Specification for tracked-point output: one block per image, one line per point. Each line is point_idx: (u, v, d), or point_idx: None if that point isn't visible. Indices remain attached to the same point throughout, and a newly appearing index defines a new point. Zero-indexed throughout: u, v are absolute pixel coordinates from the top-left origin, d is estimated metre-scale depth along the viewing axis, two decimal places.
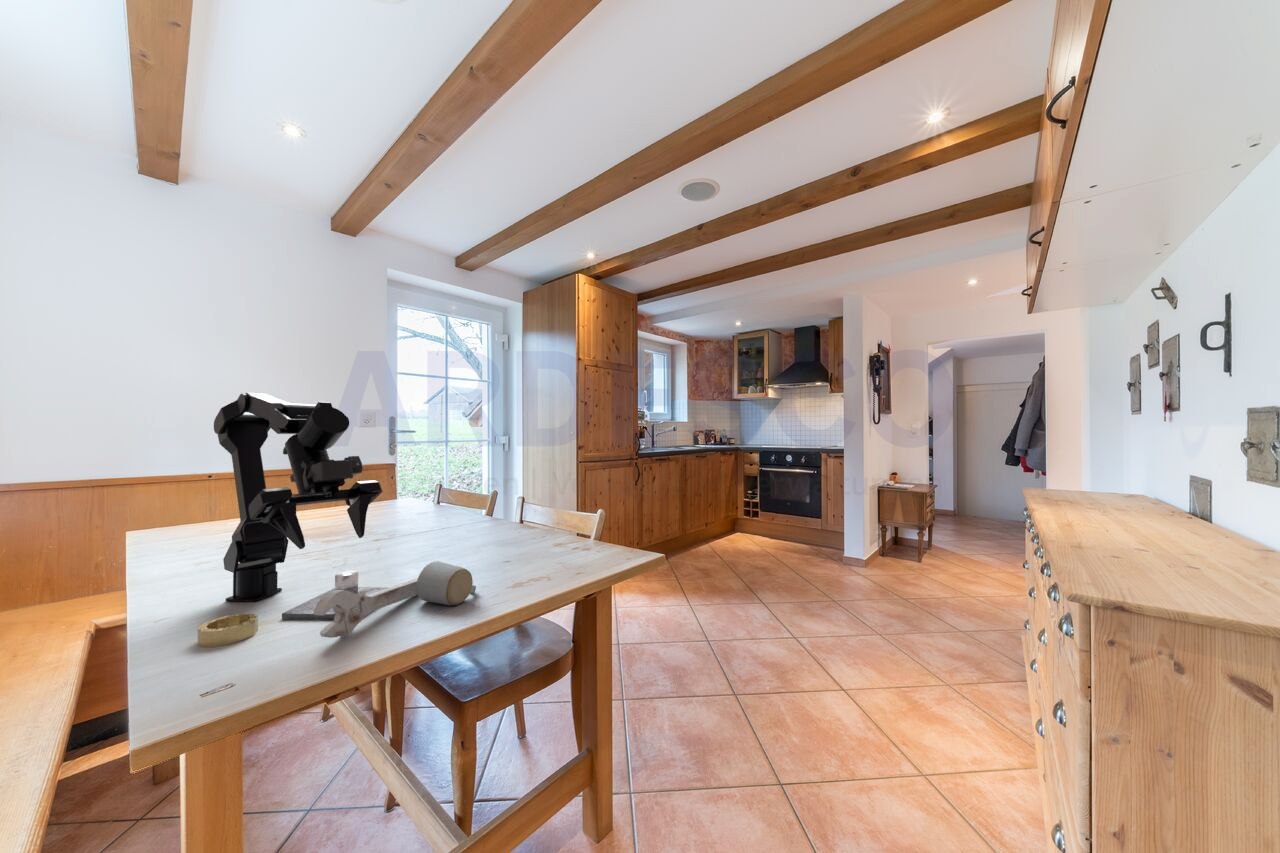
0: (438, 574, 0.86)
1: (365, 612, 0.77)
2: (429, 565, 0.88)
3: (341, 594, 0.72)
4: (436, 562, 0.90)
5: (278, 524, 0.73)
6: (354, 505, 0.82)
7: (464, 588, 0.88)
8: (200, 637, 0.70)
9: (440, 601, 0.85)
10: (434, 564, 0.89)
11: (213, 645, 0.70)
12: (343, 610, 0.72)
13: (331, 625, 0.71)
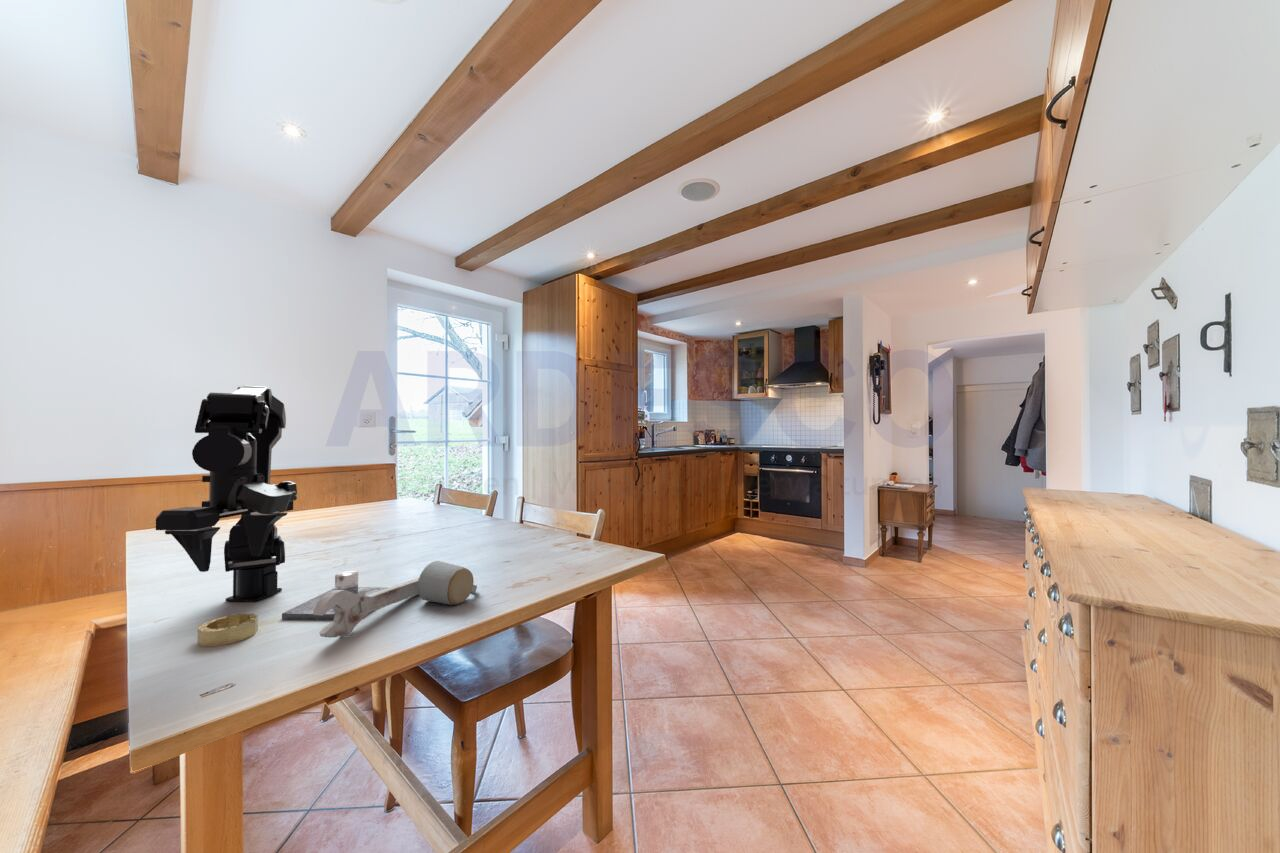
0: (439, 573, 0.86)
1: (365, 612, 0.77)
2: (430, 565, 0.88)
3: (341, 595, 0.72)
4: (437, 562, 0.90)
5: (183, 539, 0.67)
6: (259, 519, 0.79)
7: (466, 588, 0.88)
8: (200, 637, 0.70)
9: (441, 600, 0.85)
10: (435, 564, 0.89)
11: (213, 645, 0.70)
12: (343, 610, 0.72)
13: (331, 625, 0.71)
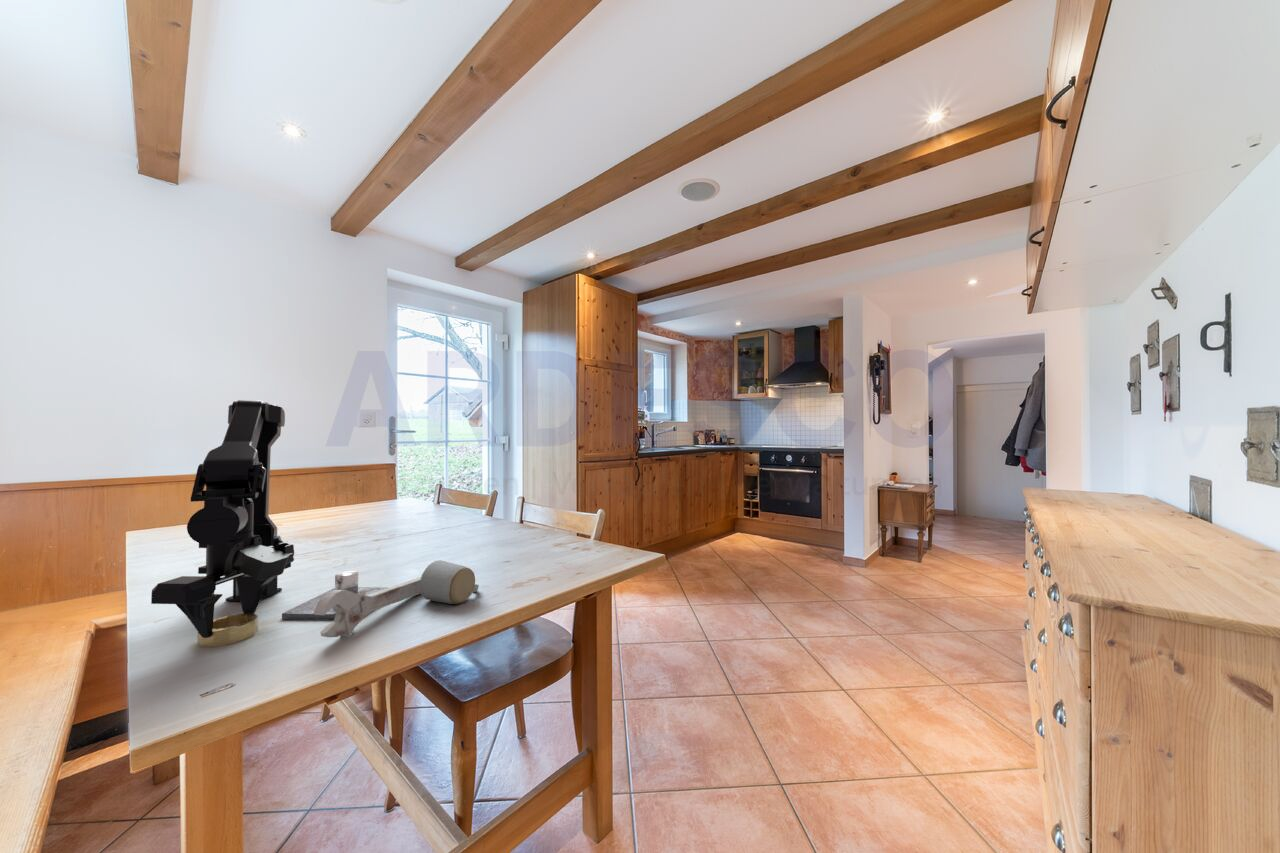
0: (441, 573, 0.87)
1: (365, 612, 0.77)
2: (432, 564, 0.89)
3: (342, 594, 0.72)
4: (439, 561, 0.90)
5: (186, 607, 0.68)
6: (251, 580, 0.78)
7: (467, 587, 0.89)
8: (200, 637, 0.70)
9: (443, 600, 0.86)
10: (437, 563, 0.89)
11: (213, 645, 0.70)
12: (343, 610, 0.72)
13: (331, 625, 0.71)
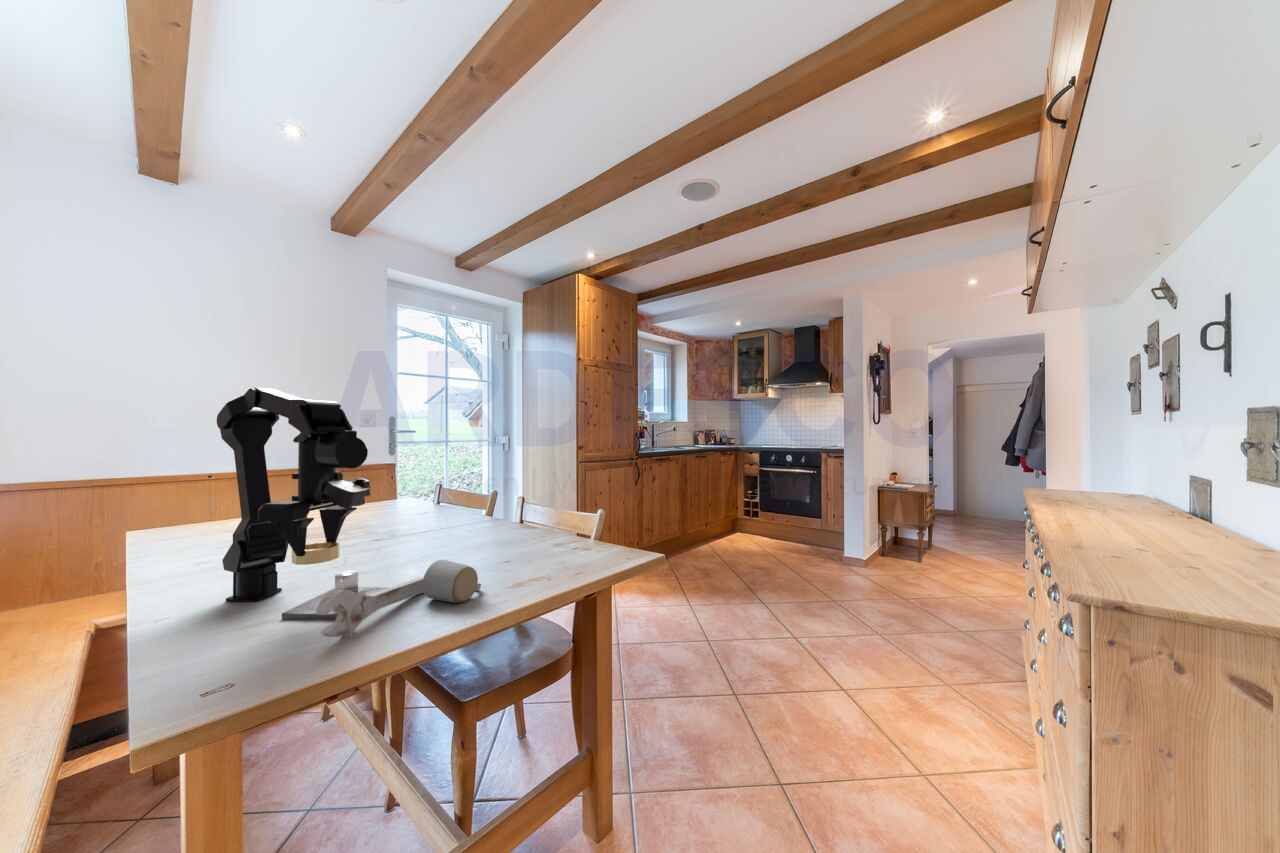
0: (444, 572, 0.87)
1: (367, 612, 0.77)
2: (435, 563, 0.89)
3: (344, 594, 0.72)
4: (442, 560, 0.91)
5: (284, 528, 0.78)
6: (333, 513, 0.87)
7: (470, 586, 0.89)
8: (294, 556, 0.80)
9: (446, 598, 0.86)
10: (440, 562, 0.90)
11: (306, 563, 0.79)
12: (345, 610, 0.72)
13: (333, 625, 0.71)
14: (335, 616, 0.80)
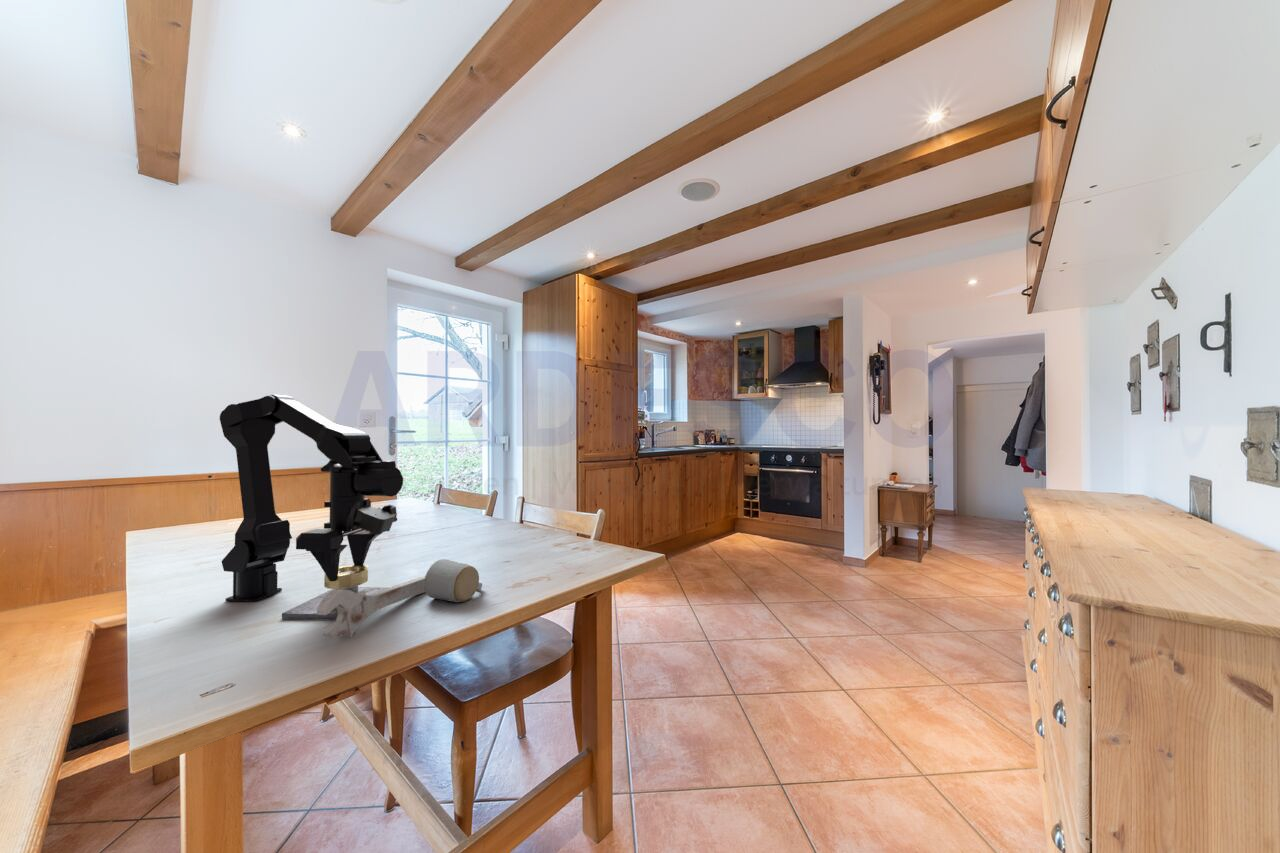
0: (445, 571, 0.88)
1: (367, 612, 0.77)
2: (436, 563, 0.90)
3: (344, 594, 0.72)
4: (443, 560, 0.91)
5: (318, 555, 0.82)
6: (360, 537, 0.91)
7: (471, 586, 0.89)
8: (327, 581, 0.84)
9: (447, 598, 0.87)
10: (441, 562, 0.90)
11: (339, 587, 0.84)
12: (346, 610, 0.72)
13: (334, 625, 0.71)
14: (335, 616, 0.80)
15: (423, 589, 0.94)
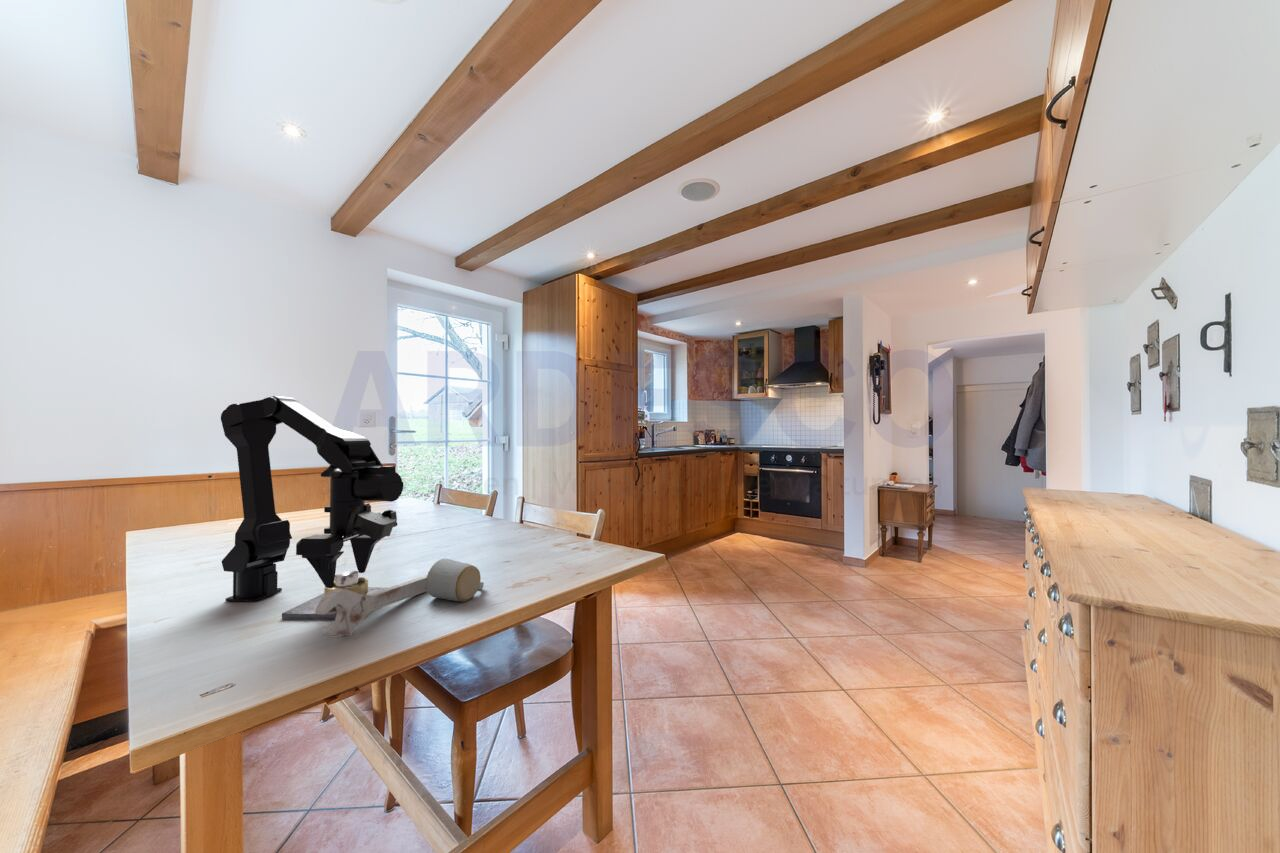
0: (447, 570, 0.88)
1: (366, 611, 0.77)
2: (438, 562, 0.90)
3: (343, 594, 0.72)
4: (445, 559, 0.92)
5: (314, 561, 0.81)
6: (363, 541, 0.92)
7: (473, 585, 0.90)
8: None
9: (449, 597, 0.87)
10: (443, 561, 0.91)
11: None
12: (344, 609, 0.73)
13: (333, 624, 0.71)
14: (335, 616, 0.80)
15: (423, 589, 0.94)
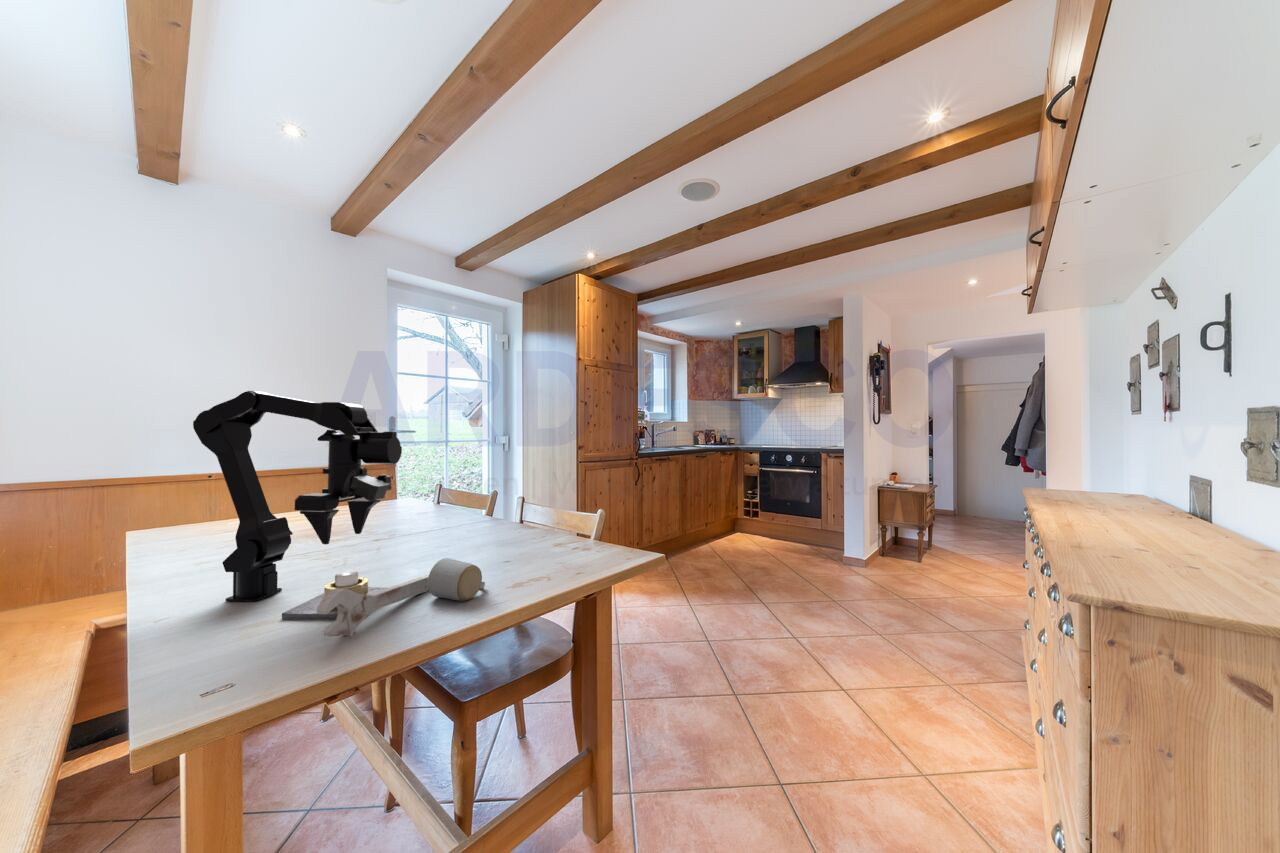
0: (448, 570, 0.88)
1: (367, 611, 0.77)
2: (440, 562, 0.91)
3: (344, 594, 0.72)
4: (446, 559, 0.92)
5: (312, 518, 0.86)
6: (360, 504, 0.97)
7: (474, 584, 0.90)
8: None
9: (451, 596, 0.87)
10: (444, 561, 0.91)
11: None
12: (346, 609, 0.73)
13: (334, 624, 0.71)
14: (335, 616, 0.80)
15: (423, 589, 0.94)
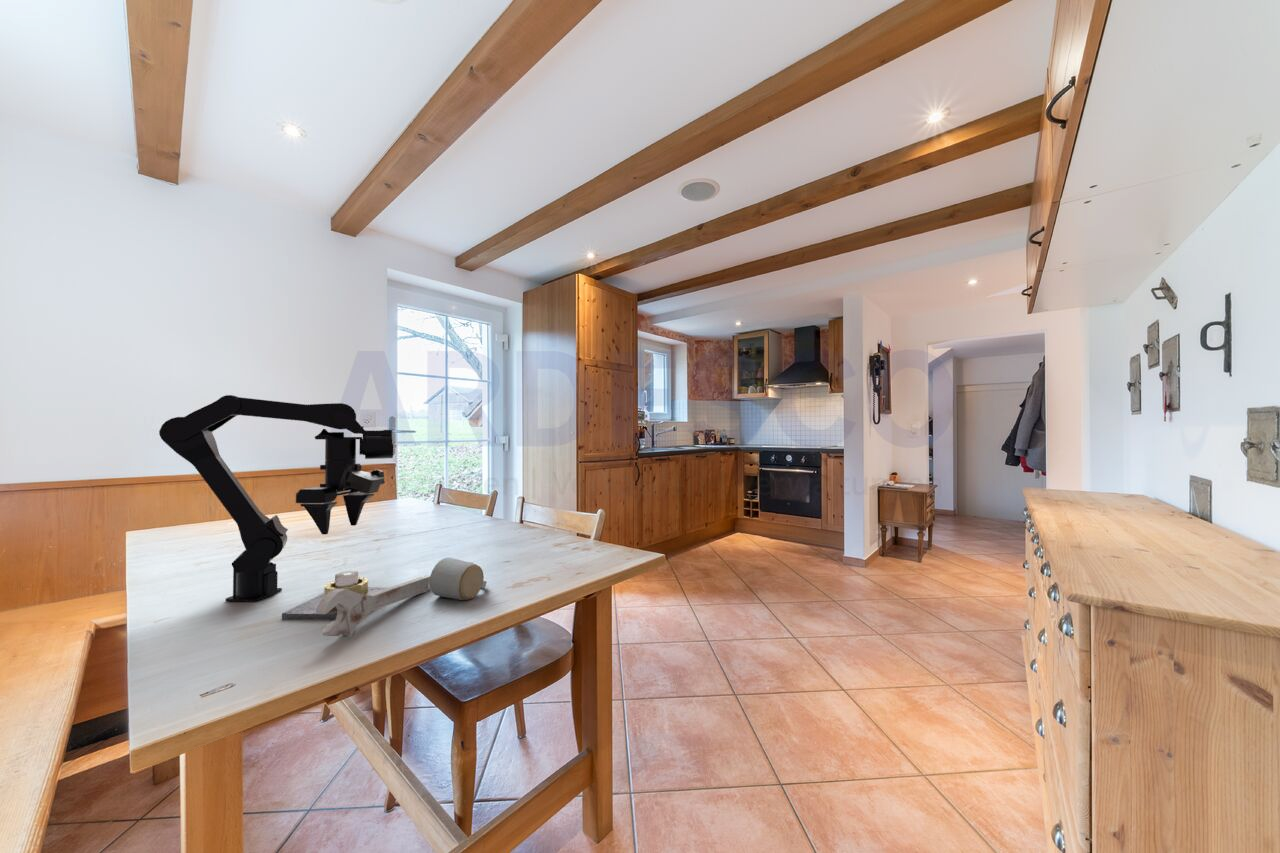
0: (450, 569, 0.89)
1: (367, 611, 0.77)
2: (441, 561, 0.91)
3: (343, 594, 0.72)
4: (448, 558, 0.92)
5: (311, 510, 0.93)
6: (355, 498, 1.05)
7: (476, 584, 0.91)
8: None
9: (453, 596, 0.88)
10: (446, 560, 0.91)
11: None
12: (345, 609, 0.73)
13: (333, 624, 0.71)
14: (335, 616, 0.80)
15: (423, 589, 0.94)
